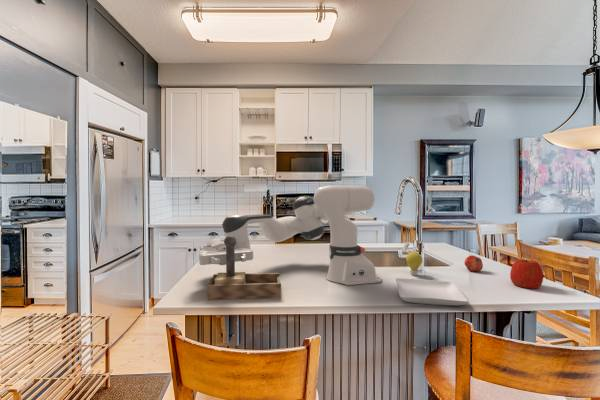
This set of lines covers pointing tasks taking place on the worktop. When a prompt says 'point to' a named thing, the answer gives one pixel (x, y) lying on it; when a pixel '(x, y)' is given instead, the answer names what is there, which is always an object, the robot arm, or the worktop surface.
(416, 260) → the light bulb
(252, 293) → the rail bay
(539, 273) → the apple
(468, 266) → the pomegranate
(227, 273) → the knobbed upright rod
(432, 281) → the salad plate
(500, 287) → the worktop surface
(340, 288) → the worktop surface
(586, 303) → the worktop surface
